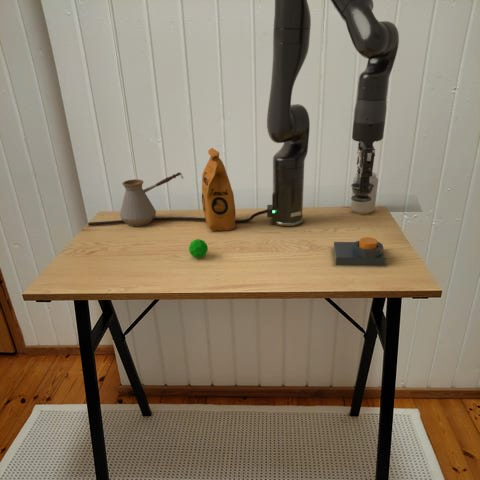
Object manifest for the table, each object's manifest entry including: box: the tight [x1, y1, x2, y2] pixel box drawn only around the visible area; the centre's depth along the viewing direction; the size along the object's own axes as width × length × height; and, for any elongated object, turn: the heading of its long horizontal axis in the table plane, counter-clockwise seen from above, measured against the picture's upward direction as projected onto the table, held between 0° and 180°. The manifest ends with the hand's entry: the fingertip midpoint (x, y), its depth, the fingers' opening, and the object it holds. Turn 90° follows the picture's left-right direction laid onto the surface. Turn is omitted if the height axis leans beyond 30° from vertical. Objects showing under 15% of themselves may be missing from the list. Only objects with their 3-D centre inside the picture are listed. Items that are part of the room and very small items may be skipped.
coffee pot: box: [119, 171, 184, 227], centre depth 143 cm, size 21×12×15 cm, turn 95°
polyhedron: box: [188, 238, 209, 259], centre depth 121 cm, size 5×5×5 cm
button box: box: [332, 240, 386, 267], centre depth 117 cm, size 12×10×4 cm
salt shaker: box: [350, 163, 374, 202], centre depth 118 cm, size 6×6×12 cm
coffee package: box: [201, 147, 237, 232], centre depth 136 cm, size 10×12×22 cm
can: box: [350, 171, 379, 215], centre depth 145 cm, size 8×8×12 cm
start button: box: [358, 236, 379, 250], centre depth 114 cm, size 4×4×2 cm
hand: (362, 187), depth 120 cm, fingers closed on salt shaker, 6 cm apart
